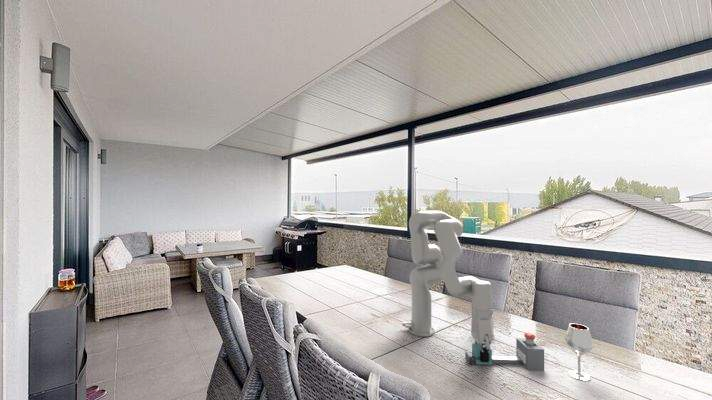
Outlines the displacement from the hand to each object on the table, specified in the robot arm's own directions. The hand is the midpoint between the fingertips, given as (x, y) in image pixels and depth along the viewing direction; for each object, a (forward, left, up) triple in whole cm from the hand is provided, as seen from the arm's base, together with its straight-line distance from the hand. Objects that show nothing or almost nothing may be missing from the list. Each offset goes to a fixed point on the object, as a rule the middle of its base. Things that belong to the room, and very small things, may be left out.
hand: (481, 357), depth 117 cm
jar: (+11, +27, -2) cm, 29 cm away
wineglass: (+33, -7, -2) cm, 33 cm away
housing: (+19, 0, -2) cm, 19 cm away
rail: (+6, 0, -2) cm, 6 cm away
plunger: (+19, 0, +5) cm, 19 cm away
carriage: (0, 0, -2) cm, 2 cm away
